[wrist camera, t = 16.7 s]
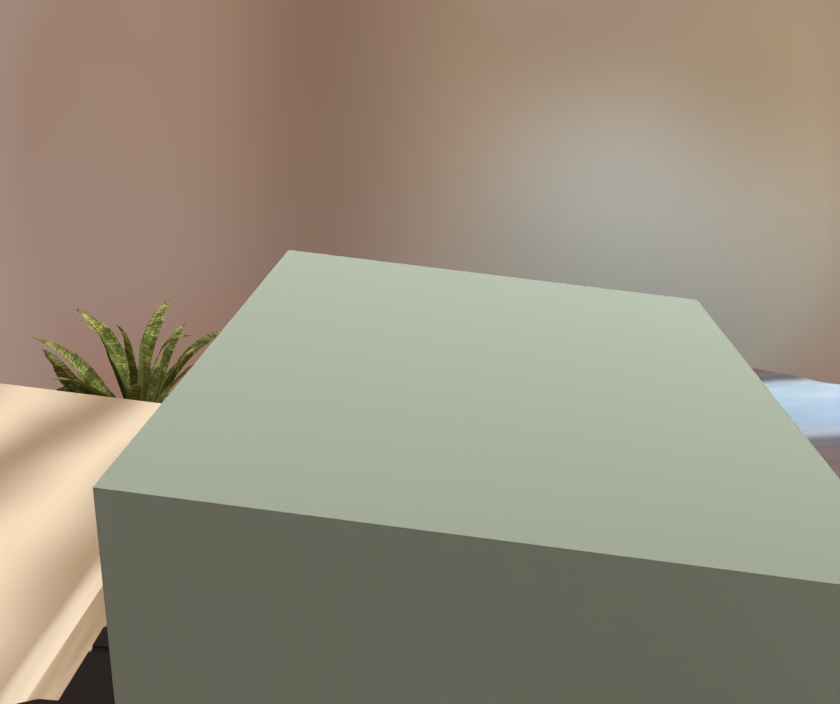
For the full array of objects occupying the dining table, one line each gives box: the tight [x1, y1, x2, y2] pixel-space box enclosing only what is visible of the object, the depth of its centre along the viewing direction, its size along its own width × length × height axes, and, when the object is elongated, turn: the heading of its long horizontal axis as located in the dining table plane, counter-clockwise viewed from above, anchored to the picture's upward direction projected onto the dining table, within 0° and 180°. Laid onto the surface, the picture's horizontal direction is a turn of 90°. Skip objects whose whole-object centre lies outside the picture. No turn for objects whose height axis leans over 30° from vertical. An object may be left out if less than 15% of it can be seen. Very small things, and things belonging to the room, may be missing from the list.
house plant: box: [35, 301, 222, 403], centre depth 55 cm, size 14×14×16 cm
